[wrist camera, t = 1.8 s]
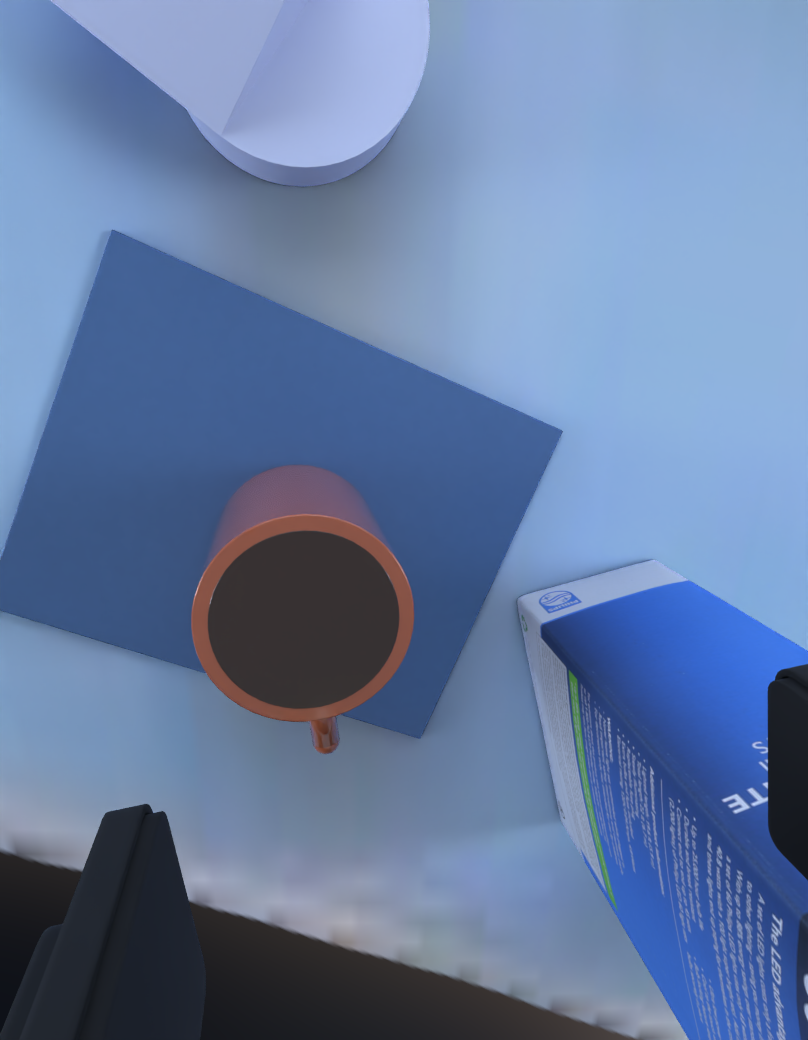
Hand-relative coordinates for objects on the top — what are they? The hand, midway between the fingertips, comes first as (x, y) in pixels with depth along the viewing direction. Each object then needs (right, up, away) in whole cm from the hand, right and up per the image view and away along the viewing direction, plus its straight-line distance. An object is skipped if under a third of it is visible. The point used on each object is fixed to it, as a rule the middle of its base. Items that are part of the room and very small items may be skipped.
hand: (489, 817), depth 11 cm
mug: (-6, +2, +21) cm, 22 cm away
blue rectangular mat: (-6, +5, +20) cm, 22 cm away
